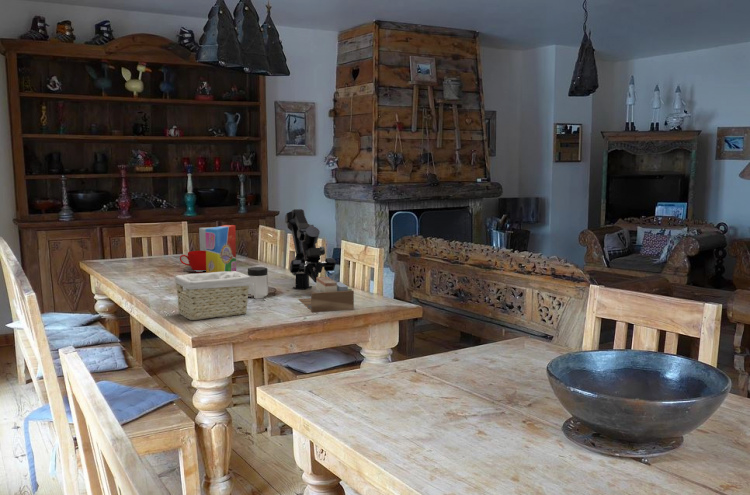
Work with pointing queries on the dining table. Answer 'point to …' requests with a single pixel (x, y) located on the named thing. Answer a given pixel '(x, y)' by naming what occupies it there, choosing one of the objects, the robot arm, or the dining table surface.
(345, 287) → the small books
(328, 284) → the boxed book
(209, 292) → the storage basket
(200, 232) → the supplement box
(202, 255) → the ceramic cup
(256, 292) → the jar
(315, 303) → the shelf
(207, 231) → the game box
